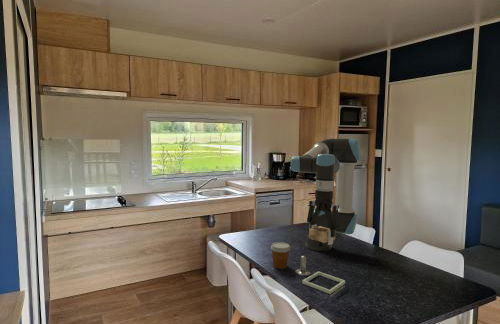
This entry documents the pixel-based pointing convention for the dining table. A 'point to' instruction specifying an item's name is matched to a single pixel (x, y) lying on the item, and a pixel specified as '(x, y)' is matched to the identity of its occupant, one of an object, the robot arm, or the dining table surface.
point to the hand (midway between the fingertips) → (321, 241)
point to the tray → (323, 287)
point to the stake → (303, 267)
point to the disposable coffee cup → (280, 254)
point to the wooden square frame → (319, 234)
